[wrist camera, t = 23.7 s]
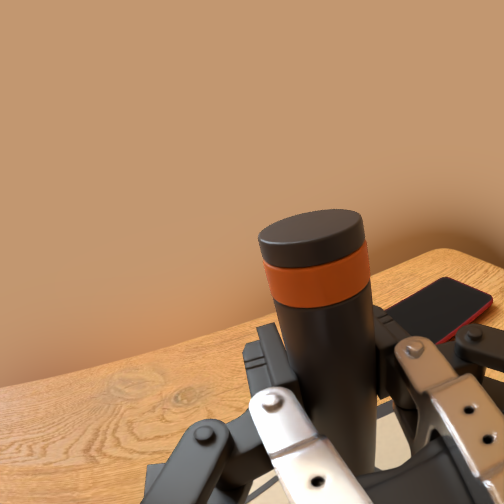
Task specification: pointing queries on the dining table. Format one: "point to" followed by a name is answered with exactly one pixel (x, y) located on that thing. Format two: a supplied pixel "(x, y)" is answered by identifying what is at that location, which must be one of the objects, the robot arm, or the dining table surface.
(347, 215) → the marker
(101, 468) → the dining table surface
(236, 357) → the dining table surface
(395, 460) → the board
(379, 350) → the robot arm
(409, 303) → the smartphone
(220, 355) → the dining table surface
